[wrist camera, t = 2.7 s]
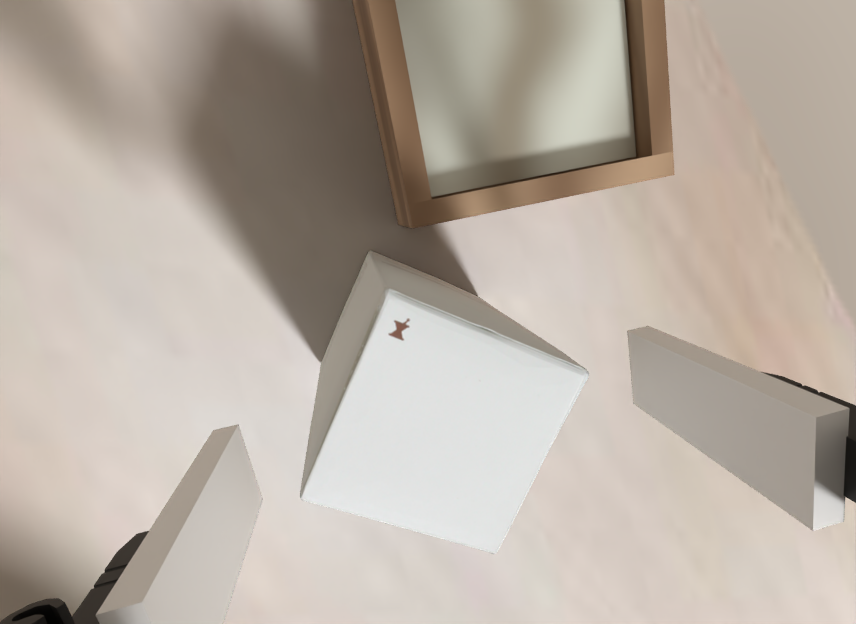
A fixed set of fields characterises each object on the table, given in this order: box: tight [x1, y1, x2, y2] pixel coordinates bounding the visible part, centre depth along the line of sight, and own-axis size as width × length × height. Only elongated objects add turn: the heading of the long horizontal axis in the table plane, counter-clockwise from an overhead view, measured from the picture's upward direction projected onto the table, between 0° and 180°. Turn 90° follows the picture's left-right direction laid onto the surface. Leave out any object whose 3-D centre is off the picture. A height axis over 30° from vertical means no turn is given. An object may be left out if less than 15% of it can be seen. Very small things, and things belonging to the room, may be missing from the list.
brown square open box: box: [352, 0, 674, 228], centre depth 21 cm, size 12×12×6 cm
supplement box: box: [300, 251, 589, 554], centre depth 20 cm, size 7×7×13 cm
